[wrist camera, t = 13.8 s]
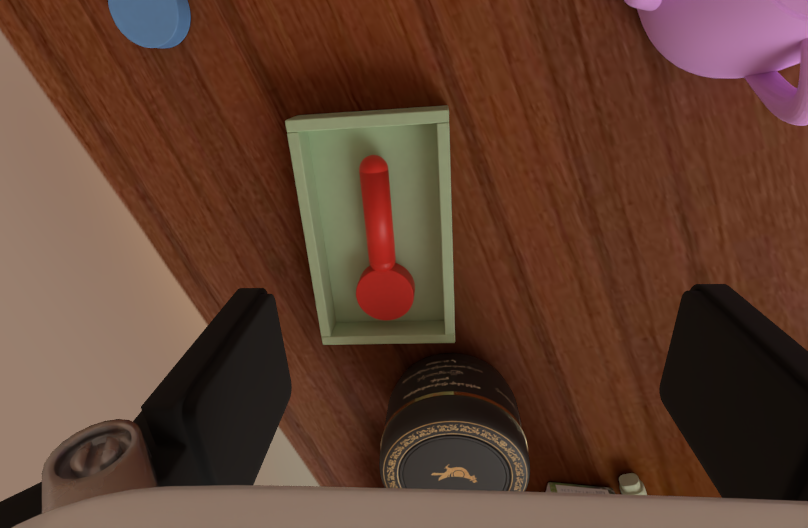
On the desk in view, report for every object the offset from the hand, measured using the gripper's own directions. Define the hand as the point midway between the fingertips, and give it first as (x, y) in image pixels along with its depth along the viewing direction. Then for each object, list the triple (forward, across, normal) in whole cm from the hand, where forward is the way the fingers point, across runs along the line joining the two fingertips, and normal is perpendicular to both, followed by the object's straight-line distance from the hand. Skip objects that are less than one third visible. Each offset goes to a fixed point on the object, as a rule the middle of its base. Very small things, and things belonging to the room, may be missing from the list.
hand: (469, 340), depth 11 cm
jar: (+20, 0, +19) cm, 27 cm away
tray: (+20, +5, +5) cm, 21 cm away
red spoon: (+19, +5, +5) cm, 21 cm away
